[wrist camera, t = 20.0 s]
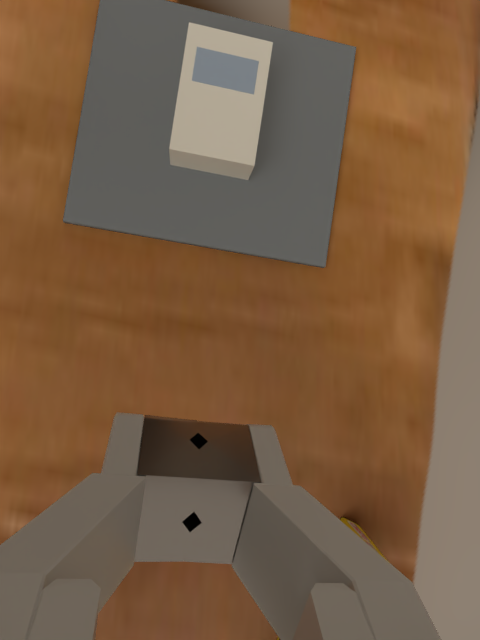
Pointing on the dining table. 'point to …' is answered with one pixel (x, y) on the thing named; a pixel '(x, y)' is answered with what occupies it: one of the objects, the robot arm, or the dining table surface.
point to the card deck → (220, 102)
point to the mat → (198, 186)
